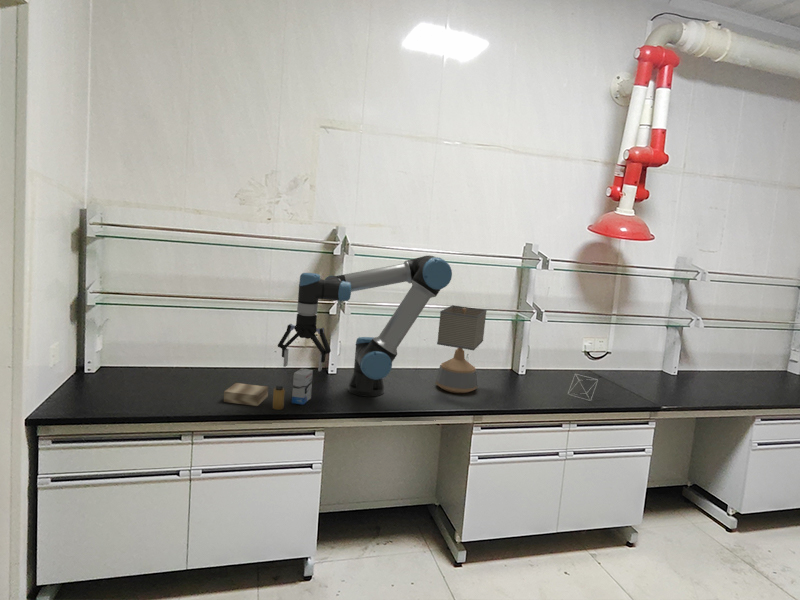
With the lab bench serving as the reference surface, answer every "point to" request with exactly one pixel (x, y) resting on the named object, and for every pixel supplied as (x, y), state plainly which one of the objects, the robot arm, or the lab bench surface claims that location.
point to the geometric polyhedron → (582, 386)
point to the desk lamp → (459, 346)
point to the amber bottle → (278, 397)
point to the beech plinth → (246, 394)
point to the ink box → (302, 386)
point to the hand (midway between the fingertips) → (302, 368)
